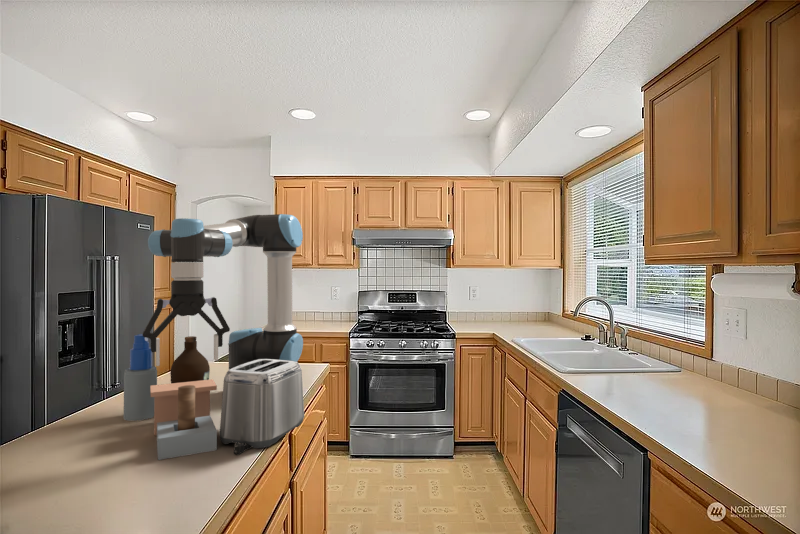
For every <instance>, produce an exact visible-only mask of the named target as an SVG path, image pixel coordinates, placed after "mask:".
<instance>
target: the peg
mask: <svg viewBox="0 0 800 534" xmlns="http://www.w3.org/2000/svg"><path fill="white" fill-rule="evenodd" d="M188 429H195V386H193V385H186V386H181V387H178V431H181V430H188Z"/></svg>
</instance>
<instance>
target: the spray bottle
mask: <svg viewBox="0 0 800 534" xmlns="http://www.w3.org/2000/svg"><path fill="white" fill-rule="evenodd" d="M133 338H134V339H133V343H132V348H129V367H128V368H125V369H124V373H123V420H124V421H127V422H133V421H134V422H135V421H137V420H138V421H144V419H145V420H149V419H151V418H154V417H153V416H154V397H151V392H150V386H151V385H158V370H157V366H156V365H155V366H154V365H153V352H151V346H150V341H149V338H146V337H143V333H139V334H136V335H133ZM148 418H149V419H148Z"/></svg>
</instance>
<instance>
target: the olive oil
mask: <svg viewBox="0 0 800 534" xmlns="http://www.w3.org/2000/svg"><path fill="white" fill-rule="evenodd" d="M183 345H184V346H183V347H184V350H183V351H181V353H180V354H179V355H178V356H177V357H176V358H175V360H174V361H173V362H172V365H171V367H170V384H171V383H181V382H191V381H201V380H210V373H211V372H210V371H211V370H210V369H211V368H210V363H209V361H208V359H207V358H206V357H205V356H204V355H203V354H202V353H201V352H200V351H199V350H198V348H197V347H198V346H197V345H198V342H197V336H195V335H193V336H191V335H190V336H185V337H184V341H183Z"/></svg>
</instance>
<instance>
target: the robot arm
mask: <svg viewBox="0 0 800 534" xmlns="http://www.w3.org/2000/svg"><path fill="white" fill-rule="evenodd" d="M303 234H304V233H303V228H302V224H301V222H300V221H299V219H298V218H297V217H296V216H295V215H293V214H287V213H284V214H283V213H279V214H276V213H275V214H253V215H247V216H244V217H242V216H241V217H239V218H233V219H228V220H227V221H226V222H223V223H216V224H208V225H204V222H203V220H201V219H198V218H183V217H182V218H174V219H173V220H172V222H171V228H170V229H158V230H153V231H152V232H151V233H150V235H149V236H148V238H147V246H148V249H149V251H150V253H151V254H152V255H154V256H155V257H164V258H166V257H171V259H170V260H171V261H170V262H171V264H170V271H171V273H170V275H171V276H170V277H171V279H173V280H171V283H170V284H171V285H170V286H171V287H170V296H171V297H170V299H162V298H158V299H157V303H156V308H155V310H154V312H153V314H152V315H151V317H150V319H149V320H148V323H147V324H146V326H145V328H144V330H143V332H142V334H143V337H146V338H148V340H149V339H150V347H151V352H152V353H155V367H160V365H161V363H160V362H161V359H160V358H161V357H160V356H161V355H160V354H161V353H160V352H161V351H160V350H161V347H160V344H161V343H160V340H161V339H160V337H159V335H160V334H162V332H163V331H164V330H165V329H166V328H167V327H168V326H169V324H170V323H172V321H173V320H174V319H175V318H176V317H177V316H180V317H186V316H191V317H193V316H196V315H199V316H200V317H201V318H202V319H203V320H204V321H205V322H206V323H207V324H208V325H209V326H210V327H211V329H213V330H214V331H215V333H213V360H214V361H219V348H220V347H223V344H224V343H223V341H224V340H223V336H224V334H225V333H229V332H231V328H230V327H229V326H230V325H228V323H227V321H226V319H225V318H224V315H223V313H222V312H221V310H220V308H219V307H218V301H217V298H216V297H215V296H212V297H210V298H205V296H204V281H203V280H202V279H203V278H204V257H206V258H207V257H210V258H211V257H214V258H220V257H224V256H227V255H229V254H230V252H231V251H232V249H233V248H234V247H235V248H238V247H251V248H252V247H253V248H262V253H263V255H265V256H266V258H267V264H266V267H267V270H266V271H267V282H266V283H267V324H266V325H265V326H264V327H263V328H262V327H253V328H252V327H251V328H245V329H240V330H235V331H232V332H231V333H230V334H229V336H228V343H227V345H228V370H229V369H232V368H234V367H236V366H239V365H242V364H244V363H248V362H251V361H254V360H258V359H276V360H288V361H295V362H298V361H299V360H300V358H301V357H302V356H301V355H302V352H303V349H304V348H303V347H304V338H303V336H302V334H300V333H297V332H298V331H297V326H296V325H295V324H294V323H293V256H295V254H296V253H297V248H299V247H301V245H302V244H303V238H304V237H303ZM205 304H207V305H208V306H209V307H211V309H212V310H213V312H214V314H215V316H216V318H217V320H218V321H219V323H220V325H221V326H222V327H221V328H220V327H219V326H218V325H217V324H216V323H215V322H214V321H213V319H212V318H211V317H209V316H208V314H207V313H206V312H205V311H204V310H203V309H202V308H203V307H204V306H205ZM168 305H169V306H170V307H171V308H172V311H171V312H170V313H169V314H168V315H167V316H166V318H164V320H163V321H162V322H161V323H160V324H159V325H158V326H157V328H155V330H153V332H152V331H151V330H152V329H153V327H154V326H155V323H156V322H157V320H158V318H159V316H160V314H161V313H162V310H163V309H164V308H165V309H166V307H167V306H168Z"/></svg>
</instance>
